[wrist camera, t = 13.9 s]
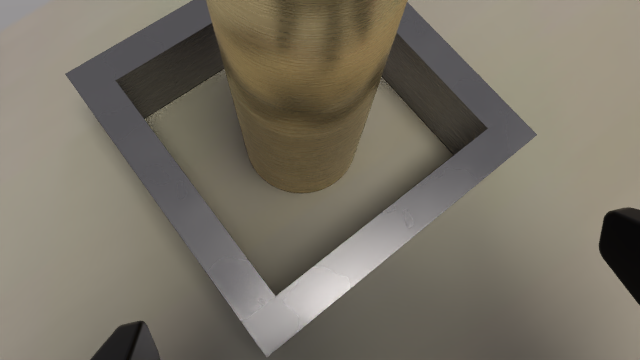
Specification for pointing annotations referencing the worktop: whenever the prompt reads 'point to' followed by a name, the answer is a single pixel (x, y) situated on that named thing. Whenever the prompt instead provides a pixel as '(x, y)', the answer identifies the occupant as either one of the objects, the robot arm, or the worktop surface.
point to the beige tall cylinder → (303, 80)
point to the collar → (365, 245)
